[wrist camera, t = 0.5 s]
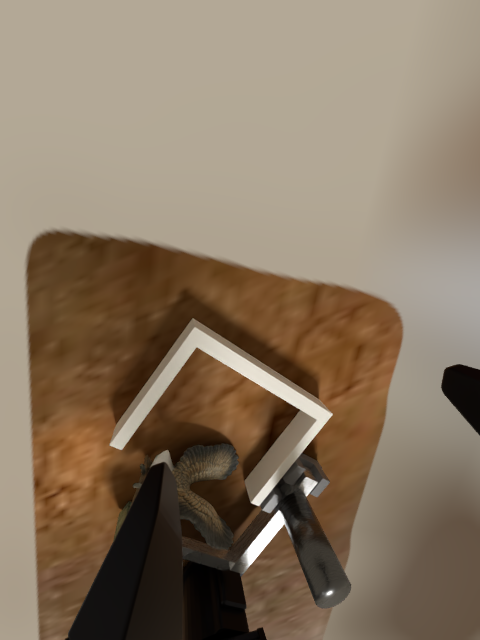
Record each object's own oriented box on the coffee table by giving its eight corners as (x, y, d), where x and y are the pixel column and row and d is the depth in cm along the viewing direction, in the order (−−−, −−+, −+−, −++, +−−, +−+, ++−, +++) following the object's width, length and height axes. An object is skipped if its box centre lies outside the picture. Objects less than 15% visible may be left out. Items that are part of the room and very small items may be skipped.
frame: (251, 484, 28) (258, 506, 26) (116, 424, 23) (109, 445, 21) (319, 399, 27) (332, 414, 25) (192, 317, 22) (194, 326, 20)
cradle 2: (305, 475, 29) (318, 497, 27) (273, 458, 28) (283, 481, 25) (317, 460, 29) (331, 482, 27) (284, 443, 28) (296, 464, 25)
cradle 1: (286, 499, 30) (296, 524, 27) (252, 484, 28) (260, 509, 26) (297, 485, 30) (309, 509, 27) (264, 469, 28) (273, 493, 25)
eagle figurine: (131, 518, 25) (228, 533, 26) (109, 556, 18) (242, 574, 19) (155, 428, 27) (243, 444, 28) (144, 432, 21) (258, 453, 22)
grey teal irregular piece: (237, 552, 30) (264, 690, 21) (119, 514, 25) (86, 670, 16) (309, 463, 29) (372, 567, 19) (199, 406, 24) (214, 508, 15)
